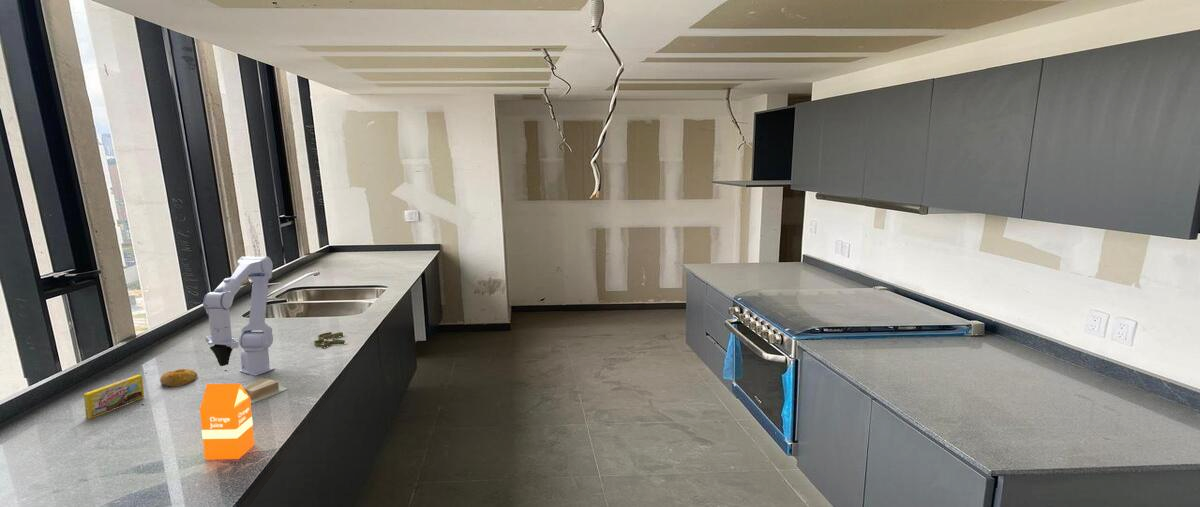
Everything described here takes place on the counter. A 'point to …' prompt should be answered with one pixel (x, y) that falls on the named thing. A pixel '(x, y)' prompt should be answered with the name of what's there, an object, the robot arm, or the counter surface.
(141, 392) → the candy box
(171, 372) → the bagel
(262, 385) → the maple tile
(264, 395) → the sage mat
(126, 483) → the counter surface
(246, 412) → the orange juice
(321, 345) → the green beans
